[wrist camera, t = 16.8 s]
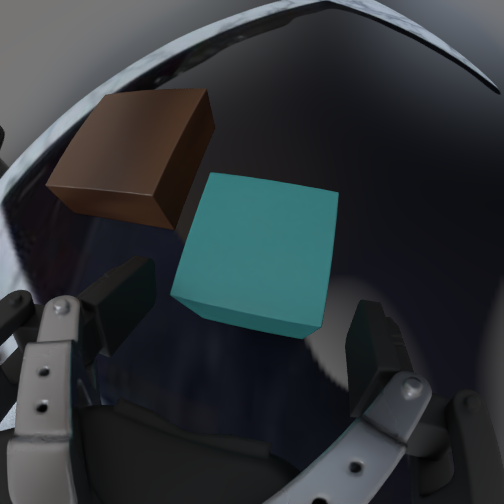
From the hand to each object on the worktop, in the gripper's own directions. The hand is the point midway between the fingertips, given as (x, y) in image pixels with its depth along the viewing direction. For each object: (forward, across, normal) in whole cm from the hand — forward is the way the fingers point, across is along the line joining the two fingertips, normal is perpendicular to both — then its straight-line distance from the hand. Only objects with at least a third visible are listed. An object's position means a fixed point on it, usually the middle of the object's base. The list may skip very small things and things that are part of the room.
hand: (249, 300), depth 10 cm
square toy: (+5, 0, +2) cm, 5 cm away
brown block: (+10, +10, -3) cm, 14 cm away
